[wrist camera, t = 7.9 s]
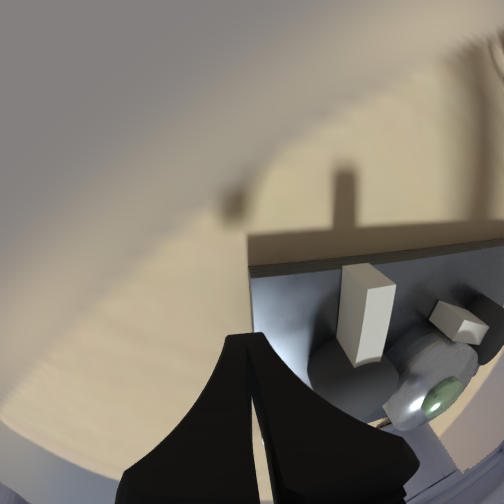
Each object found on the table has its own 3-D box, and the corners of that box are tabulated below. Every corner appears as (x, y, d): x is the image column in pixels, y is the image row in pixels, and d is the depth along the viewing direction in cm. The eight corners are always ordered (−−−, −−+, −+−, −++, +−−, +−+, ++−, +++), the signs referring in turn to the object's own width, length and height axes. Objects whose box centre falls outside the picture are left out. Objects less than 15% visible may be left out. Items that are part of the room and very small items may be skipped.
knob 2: (495, 300, 15) (518, 316, 12) (471, 346, 16) (491, 365, 13) (448, 278, 13) (479, 298, 11) (416, 338, 15) (441, 364, 12)
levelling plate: (467, 367, 19) (497, 399, 14) (260, 431, 18) (270, 492, 12) (506, 237, 15) (554, 259, 10) (248, 266, 14) (263, 334, 8)
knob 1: (368, 379, 15) (387, 410, 12) (304, 394, 15) (317, 430, 12) (391, 259, 13) (426, 282, 10) (311, 268, 12) (335, 298, 9)
